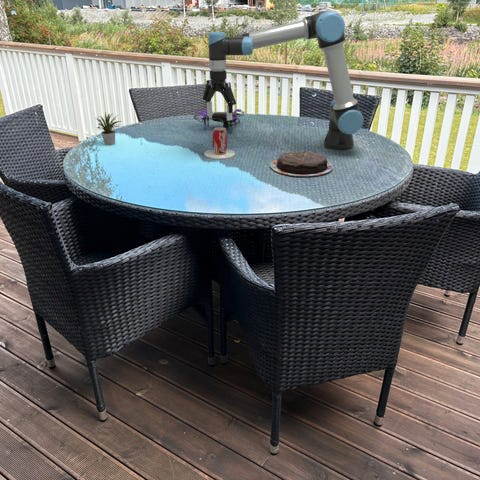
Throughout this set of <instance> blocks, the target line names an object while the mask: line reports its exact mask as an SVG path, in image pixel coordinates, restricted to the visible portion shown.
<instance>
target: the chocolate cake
mask: <svg viewBox="0 0 480 480" xmlns="http://www.w3.org/2000/svg"><path fill="white" fill-rule="evenodd" d="M269 167H270V168H271V169H272V170H273V171H274V172H276V173H277V174H280V175H287V176H290V177H292V178H297V177H306V178H314V177H322V176H324V175H327V174H328V173H331V171H332V170H333V164H332V163H331V162H330V161H328V159H327V157H326V156H325V155H322V154H320V153H318V152H317V151H316V152H315V151H290V152H284V153H282V154H280V155H279V157H278V158H277V159H275V160H272V161H271V162H270V165H269Z"/></svg>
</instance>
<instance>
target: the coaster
mask: <svg viewBox="0 0 480 480" xmlns="http://www.w3.org/2000/svg"><path fill="white" fill-rule="evenodd" d="M235 156H236V152H235V151H234V150H232V149H228V148H227V152H226V153H225V154H222V155H218V154H215V153H214V152H213V148H212V149H209V150H206V151H205V152H204V158H207V159H211V160H227V159H232V158H234V157H235Z"/></svg>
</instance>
